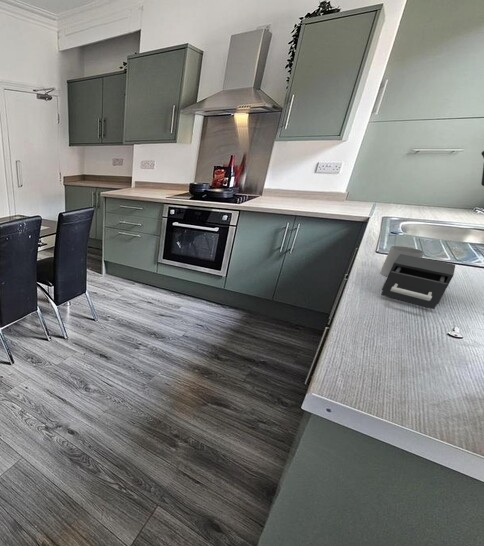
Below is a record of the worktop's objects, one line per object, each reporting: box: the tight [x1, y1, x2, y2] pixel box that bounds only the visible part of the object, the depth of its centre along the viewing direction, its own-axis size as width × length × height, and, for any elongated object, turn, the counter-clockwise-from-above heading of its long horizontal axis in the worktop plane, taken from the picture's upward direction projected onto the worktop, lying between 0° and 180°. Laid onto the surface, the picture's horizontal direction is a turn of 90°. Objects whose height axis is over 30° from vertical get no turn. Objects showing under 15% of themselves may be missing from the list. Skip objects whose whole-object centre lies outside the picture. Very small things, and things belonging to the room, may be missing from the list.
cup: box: [379, 245, 425, 278], centre depth 111 cm, size 8×8×10 cm
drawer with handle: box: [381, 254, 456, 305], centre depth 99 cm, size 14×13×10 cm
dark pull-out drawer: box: [380, 266, 448, 310], centre depth 93 cm, size 18×11×8 cm, turn 130°
